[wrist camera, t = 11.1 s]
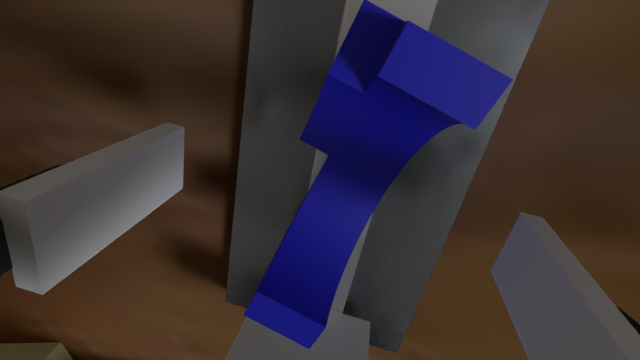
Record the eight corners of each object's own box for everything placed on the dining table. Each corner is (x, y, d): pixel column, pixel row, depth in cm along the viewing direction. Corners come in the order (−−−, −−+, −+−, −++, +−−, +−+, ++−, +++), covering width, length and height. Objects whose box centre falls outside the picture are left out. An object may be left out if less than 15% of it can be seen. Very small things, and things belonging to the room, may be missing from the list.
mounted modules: (358, 355, 22) (346, 474, 16) (254, 324, 23) (207, 427, 17) (559, -203, 11) (764, -480, 5) (338, -236, 11) (281, -517, 5)
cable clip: (369, 3, 14) (355, -10, 8) (466, 58, 14) (513, 79, 9) (261, 221, 19) (210, 297, 14) (332, 259, 19) (309, 349, 14)
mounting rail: (396, 340, 24) (397, 366, 22) (231, 291, 25) (218, 312, 23) (606, -157, 12) (644, -189, 10) (282, -209, 13) (265, -245, 11)
